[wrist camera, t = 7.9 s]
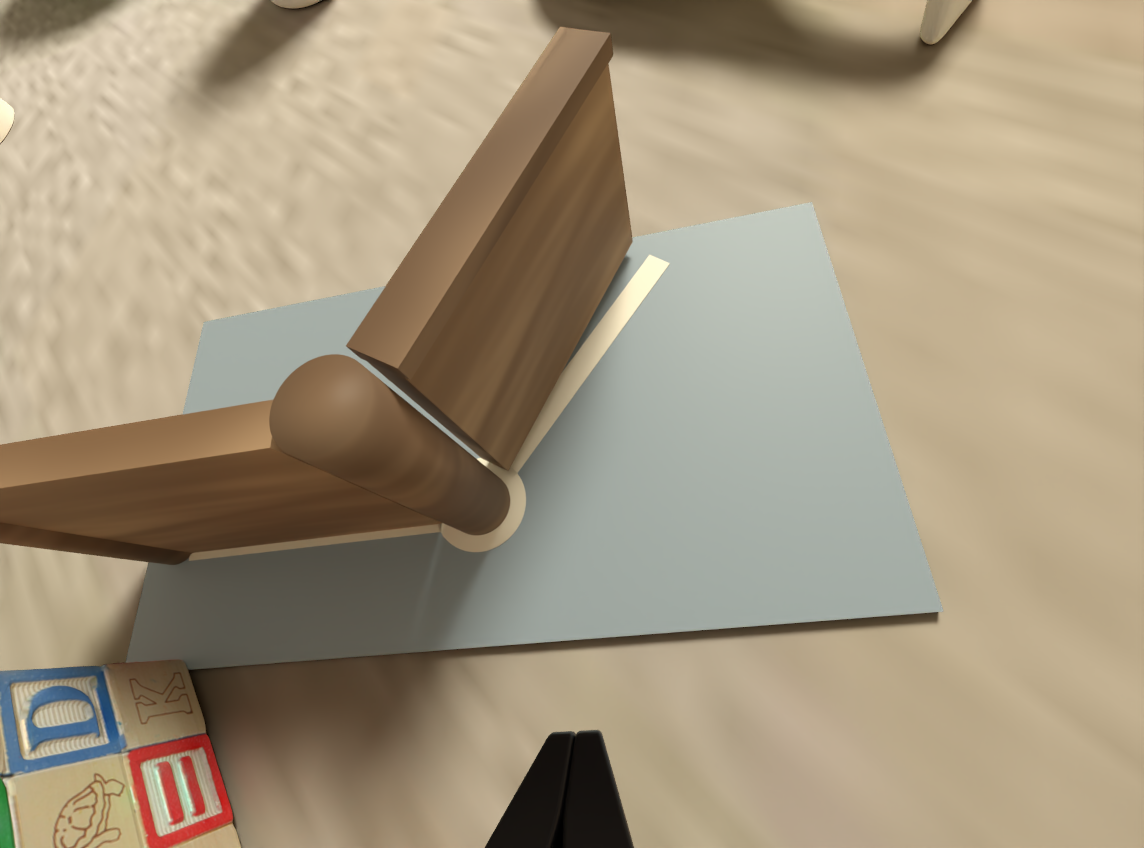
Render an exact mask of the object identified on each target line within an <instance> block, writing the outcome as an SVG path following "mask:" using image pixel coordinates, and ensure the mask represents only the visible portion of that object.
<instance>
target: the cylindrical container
mask: <svg viewBox="0 0 1144 848" xmlns="http://www.w3.org/2000/svg"><path fill="white" fill-rule="evenodd" d="M13 121H14V111H13V108H12V107H11V106H10V105H9V104H7V103H6V102H5V101H3V100H2V99H1V98H0V143H1V142H2V141H3V139H4V138H5V137H6V135H7V134H8V132H9V130H10V128H11V126H12V124H13Z"/></svg>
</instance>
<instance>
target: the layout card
mask: <svg viewBox="0 0 1144 848" xmlns="http://www.w3.org/2000/svg"><path fill="white" fill-rule="evenodd" d="M632 240H633V242H632V244H631V246H630V248H629V249H628V251H627V253H626V255H625V257H624V259H623V261H622V262H621V264H620V266H619V268H618V270H617V272H616V273H615V275H614V277H613V279H612V281H611V283H610V284H609V286H608V288H607V290H606V292H605V294H604V296H603V297H602V299H601V301H600V303H599V305H598V307H597V308H596V310H595V312H594V314H593V316H592V318H591V319H590V321H589V323H588V325H587V327H586V329H585V331H584V332H583V334H582V336H581V338H580V340H579V342H578V343H577V345H576V347H575V349H574V351H573V353H572V355H571V356H570V358H569V360H568V362H567V364H566V366H565V367H564V369H563V371H562V373H561V375H560V377H559V378H558V380H557V382H556V384H555V386H554V388H553V390H552V391H551V393H550V395H549V397H548V399H547V401H546V402H545V404H544V406H543V408H542V410H541V412H540V413H539V415H538V417H537V419H536V421H535V423H534V425H533V426H532V428H531V430H530V432H529V434H528V436H527V437H526V439H525V441H524V443H523V445H522V447H521V449H520V450H519V452H518V454H517V456H516V458H515V460H514V461H513V463H512V465H511V467H510V469H509V471H507V470H505V469H503V468H501V467H499V466H496V465H494V464H492V463H490V462H488V461H486V460H484V459H482V458H481V457H479V456H478V455H477V454H476V453H475V452H473V451H472V450H471V449H470V448H469V447H468V446H466V445H465V444H464V443H463V442H462V441H460V440H459V439H458V438H457V437H456V436H455V435H453V434H452V433H451V432H450V431H449V430H447V429H446V428H445V427H444V426H443V425H442V424H440V423H439V422H438V421H437V420H436V419H434V418H433V417H432V416H431V415H430V414H429V413H427V412H426V411H425V410H424V409H423V408H421V407H420V406H419V405H418V404H417V403H415V402H414V401H413V400H412V399H411V398H410V397H408V396H407V395H406V394H405V393H404V392H402V391H401V390H400V389H399V388H398V387H397V386H395V385H394V384H393V383H392V382H391V381H389V380H388V379H387V378H386V377H385V376H384V375H382V374H381V373H380V372H379V371H378V370H376V369H375V368H374V367H373V366H372V365H371V364H369V363H368V362H367V361H365V360H363V359H361V358H359V357H358V356H357V355H356V354H355V353H353V352H352V351H351V350H350V349H349V348H347V347H346V345H347V343H348V342H349V340H350V339H351V337H352V336H353V334H354V333H355V331H356V330H357V328H358V327H359V325H360V324H361V322H362V321H363V319H364V318H365V316H366V315H367V313H368V312H369V310H370V309H371V307H372V306H373V304H374V303H375V301H376V300H377V298H378V297H379V295H380V294H381V292H382V291H383V290H384V288H385V287H386V286H384V287H379V288H374V289H369V290H364V291H359V292H354V293H349V294H344V295H339V296H333V297H328V298H323V299H318V300H313V301H308V302H303V303H298V304H293V305H288V306H283V307H278V308H273V309H268V310H262V311H257V312H252V313H247V314H242V315H237V316H232V317H227V318H222V319H217V320H212V321H207V322H204V324H203V328H202V333H201V337H200V341H199V346H198V350H197V355H196V359H195V363H194V368H193V372H192V376H191V381H190V385H189V389H188V394H187V398H186V402H185V407H184V411H183V414H189V413H195V412H201V411H207V410H213V409H219V408H225V407H231V406H237V405H243V404H249V403H255V402H261V401H267V400H273V399H274V397H275V395H276V393H277V391H278V389H279V388H280V386H281V385H282V383H283V382H284V381H285V380H286V378H287V377H288V376H289V375H290V374H291V373H292V372H293V371H294V370H296V369H297V368H298V367H300V366H301V365H303V364H304V363H306V362H308V361H310V360H312V359H314V358H317V357H320V356H324V355H330V354H340V355H345V356H349V357H351V358H353V359H355V360H357V361H358V362H359V363H361V364H362V365H363V366H364V367H365V368H367V369H368V370H369V371H370V372H371V373H373V374H374V375H375V376H376V377H378V378H379V379H380V380H381V381H382V382H384V383H385V384H386V385H387V386H389V387H390V388H391V389H392V390H393V391H395V392H396V393H397V394H398V395H399V396H401V397H402V398H403V399H404V400H406V401H407V402H408V403H409V404H410V405H412V406H413V407H414V408H415V409H416V410H418V411H419V412H420V413H421V414H423V415H424V416H425V417H426V418H427V419H429V420H430V421H431V422H432V423H433V424H435V425H436V426H437V427H438V428H440V429H441V430H442V431H443V432H444V433H446V434H447V435H448V436H449V437H451V438H452V439H453V440H454V441H455V442H457V443H458V444H459V445H460V446H461V447H463V448H464V449H465V450H466V451H468V452H469V453H470V454H471V455H472V456H474V457H475V458H476V459H477V460H478V461H480V462H481V463H482V464H483V465H485V466H486V467H487V468H488V469H489V470H491V471H492V472H493V473H494V474H495V475H497V476H498V477H499V478H500V479H501V480H502V481H503V482H504V483H505V484H506V486H507V488H508V490H509V494H510V508H509V511H508V514H507V516H506V518H505V520H504V521H503V522H502V524H501V525H500V526H499V527H497V528H496V529H495V530H493V531H492V532H490V533H487V534H484V535H469V534H466V533H464V532H462V531H460V530H457V529H455V528H453V527H451V526H448V525H446V524H444V523H442V524H434V525H426V526H417V527H409V528H400V529H392V530H383V531H375V532H366V533H358V534H349V535H341V536H332V537H324V538H315V539H307V540H298V541H290V542H281V543H273V544H264V545H256V546H247V547H239V548H230V549H222V550H213V551H205V552H196V553H192V554H191V555H190V556H189V558H188V559H187V560H185V561H184V562H182V563H180V564H177V565H167V564H159V563H151V562H149V563H148V567H147V571H146V576H145V580H144V584H143V589H142V593H141V597H140V602H139V606H138V610H137V615H136V619H135V623H134V628H133V632H132V637H131V641H130V645H129V650H128V654H127V658H126V663H130V662H148V661H159V660H174V659H179V660H183V661H184V662H185V663H186V666H187V669H188V670H192V669H205V668H218V667H231V666H244V665H257V664H269V663H282V662H295V661H308V660H321V659H334V658H347V657H360V656H373V655H386V654H399V653H412V652H425V651H438V650H451V649H464V648H477V647H490V646H503V645H516V644H529V643H542V642H555V641H568V640H581V639H593V638H606V637H619V636H632V635H645V634H658V633H671V632H684V631H697V630H710V629H723V628H736V627H749V626H762V625H775V624H788V623H801V622H814V621H827V620H840V619H853V618H866V617H879V616H892V615H905V614H917V613H930V612H943V608H942V605H941V602H940V599H939V596H938V593H937V589H936V586H935V583H934V580H933V577H932V574H931V571H930V568H929V565H928V561H927V558H926V555H925V552H924V549H923V546H922V543H921V540H920V537H919V533H918V530H917V527H916V524H915V521H914V518H913V515H912V512H911V509H910V506H909V502H908V499H907V496H906V493H905V490H904V487H903V484H902V481H901V478H900V474H899V471H898V468H897V465H896V462H895V459H894V456H893V453H892V450H891V446H890V443H889V440H888V437H887V434H886V431H885V428H884V425H883V422H882V418H881V415H880V412H879V409H878V406H877V403H876V400H875V397H874V394H873V391H872V387H871V384H870V381H869V378H868V375H867V372H866V369H865V366H864V363H863V359H862V356H861V353H860V350H859V347H858V344H857V341H856V338H855V335H854V331H853V328H852V325H851V322H850V319H849V316H848V313H847V310H846V307H845V303H844V300H843V297H842V294H841V291H840V288H839V285H838V282H837V279H836V276H835V272H834V269H833V266H832V263H831V260H830V257H829V254H828V251H827V248H826V244H825V241H824V238H823V235H822V232H821V229H820V226H819V223H818V220H817V216H816V213H815V210H814V207H813V204H812V202H810V203H805V204H800V205H795V206H790V207H785V208H780V209H775V210H770V211H765V212H760V213H755V214H750V215H744V216H739V217H734V218H729V219H724V220H719V221H714V222H709V223H704V224H699V225H694V226H689V227H684V228H679V229H673V230H668V231H663V232H658V233H653V234H648V235H643V236H638V237H633V238H632Z"/></svg>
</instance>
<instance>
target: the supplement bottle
mask: <svg viewBox="0 0 1144 848" xmlns="http://www.w3.org/2000/svg"><path fill="white" fill-rule="evenodd" d="M271 1H272V2H273V3H274V4H276V5H278V6H280V7H284V8H302V7H307V6H310V5H313V4H315V3H317V2H319V1H321V0H271Z"/></svg>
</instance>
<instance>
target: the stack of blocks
mask: <svg viewBox="0 0 1144 848" xmlns="http://www.w3.org/2000/svg"><path fill="white" fill-rule="evenodd" d="M232 821H233V814H232V810H231V806H230V803H229V800H228V796H227V793H226V790H225V787H224V784H223V780H222V777H221V774H220V771H219V768H218V765H217V762H216V759H215V755H214V752H213V749H212V746H211V742H210V739H209V737H208V736H207V734H206V727H205V722H204V718H203V715H202V711H201V708H200V705H199V703H198V700H197V697H196V693H195V690H194V687H193V684H192V681H191V678H190V675H189V672H188V669H187V666H186V663H185V662H184V661H183V660H179V659H174V660H159V661H148V662H130V663H113V664H104V665H102V666H83V667H66V668H51V669H33V670H11V671H0V848H241V845H240V842H239V838H238V835H237V832H236V829H235V828H234V826H233V823H232Z"/></svg>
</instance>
